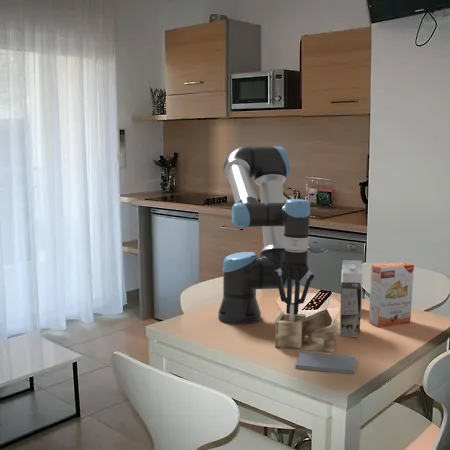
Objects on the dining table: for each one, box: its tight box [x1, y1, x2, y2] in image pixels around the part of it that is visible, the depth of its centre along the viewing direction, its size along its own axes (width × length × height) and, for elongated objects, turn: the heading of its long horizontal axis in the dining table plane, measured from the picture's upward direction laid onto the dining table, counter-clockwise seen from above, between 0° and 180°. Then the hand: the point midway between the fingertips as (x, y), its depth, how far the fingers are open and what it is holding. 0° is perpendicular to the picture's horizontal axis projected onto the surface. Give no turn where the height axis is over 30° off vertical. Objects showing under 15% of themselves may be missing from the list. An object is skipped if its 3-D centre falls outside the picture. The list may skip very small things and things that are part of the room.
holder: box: [274, 311, 336, 353], centre depth 184 cm, size 18×11×8 cm, turn 75°
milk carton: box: [340, 259, 364, 310], centre depth 219 cm, size 7×7×19 cm
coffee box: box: [339, 282, 362, 338], centre depth 194 cm, size 9×6×16 cm
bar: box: [296, 308, 333, 337], centre depth 183 cm, size 14×5×4 cm, turn 75°
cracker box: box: [368, 261, 415, 328], centre depth 204 cm, size 14×6×21 cm, turn 114°
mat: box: [295, 350, 357, 375], centre depth 168 cm, size 16×11×1 cm
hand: (291, 324), depth 185 cm, fingers closed
